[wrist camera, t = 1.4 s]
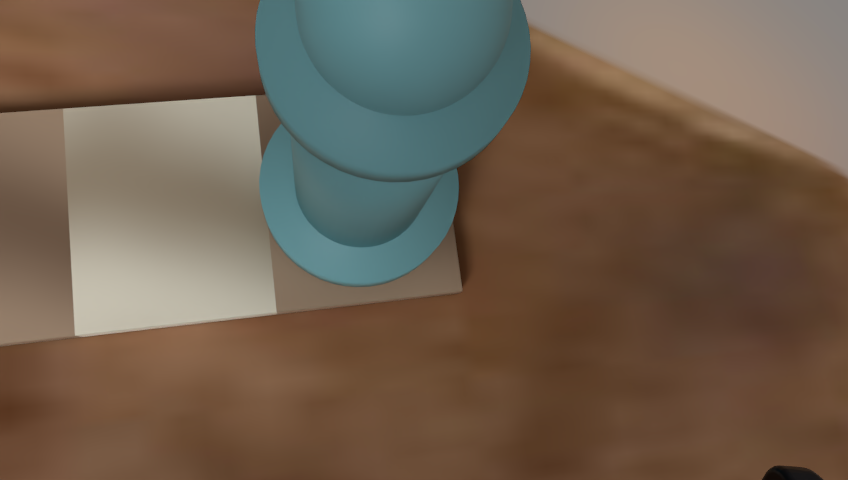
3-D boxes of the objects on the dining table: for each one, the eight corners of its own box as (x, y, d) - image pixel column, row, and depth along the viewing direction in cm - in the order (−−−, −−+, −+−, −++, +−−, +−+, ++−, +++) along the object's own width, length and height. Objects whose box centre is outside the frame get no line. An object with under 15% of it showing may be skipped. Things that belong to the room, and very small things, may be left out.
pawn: (463, 275, 21) (659, 136, 9) (271, 297, 20) (214, 173, 8) (438, 96, 22) (588, -242, 10) (253, 109, 21) (179, -244, 9)
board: (458, 293, 21) (462, 290, 21) (-363, 388, 18) (-385, 388, 18) (430, 90, 22) (433, 82, 22) (-352, 146, 19) (-373, 139, 19)
